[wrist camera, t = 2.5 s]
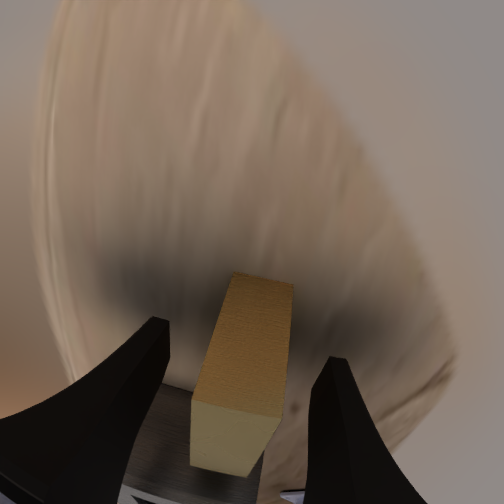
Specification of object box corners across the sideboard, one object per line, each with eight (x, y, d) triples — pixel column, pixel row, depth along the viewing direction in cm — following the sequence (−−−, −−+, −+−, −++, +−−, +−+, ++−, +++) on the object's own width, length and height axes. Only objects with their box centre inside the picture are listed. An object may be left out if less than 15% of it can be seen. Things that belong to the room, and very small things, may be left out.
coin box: (238, 473, 21) (225, 535, 16) (144, 448, 21) (123, 507, 16) (270, 409, 14) (253, 518, 9) (121, 370, 15) (75, 463, 10)
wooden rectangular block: (264, 372, 13) (246, 477, 9) (219, 362, 13) (190, 465, 9) (293, 283, 10) (282, 418, 6) (234, 270, 10) (191, 399, 6)
